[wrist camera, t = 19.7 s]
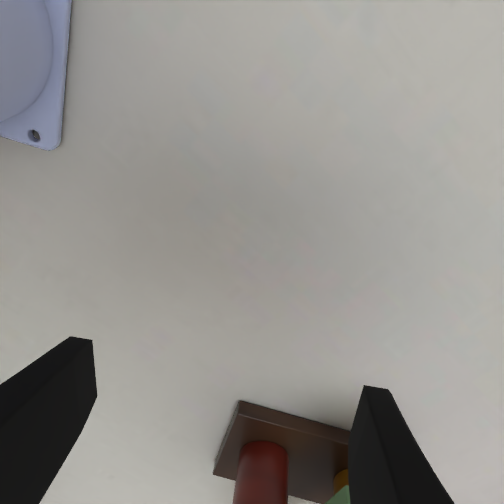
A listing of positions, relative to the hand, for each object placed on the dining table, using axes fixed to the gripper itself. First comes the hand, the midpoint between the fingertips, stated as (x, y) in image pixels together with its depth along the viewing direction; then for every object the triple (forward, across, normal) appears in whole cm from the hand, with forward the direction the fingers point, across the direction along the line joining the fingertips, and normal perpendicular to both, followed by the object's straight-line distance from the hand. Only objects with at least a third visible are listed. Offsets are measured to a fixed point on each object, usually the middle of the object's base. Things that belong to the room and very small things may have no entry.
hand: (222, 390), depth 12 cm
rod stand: (+11, -4, +16) cm, 20 cm away
